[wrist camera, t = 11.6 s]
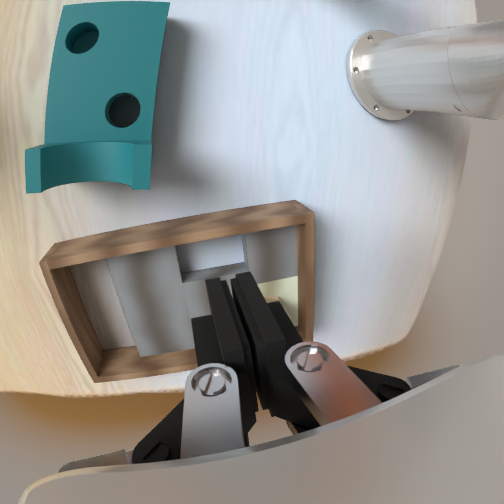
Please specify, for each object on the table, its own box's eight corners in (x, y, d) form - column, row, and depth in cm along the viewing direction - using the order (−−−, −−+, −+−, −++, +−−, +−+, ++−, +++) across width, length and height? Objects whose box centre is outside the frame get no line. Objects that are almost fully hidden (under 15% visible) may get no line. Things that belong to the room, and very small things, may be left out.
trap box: (295, 199, 38) (314, 212, 33) (298, 319, 45) (312, 342, 40) (54, 243, 32) (39, 262, 27) (99, 356, 40) (94, 382, 35)
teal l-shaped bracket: (148, 169, 33) (149, 189, 24) (57, 172, 29) (26, 193, 20) (166, 17, 26) (176, -19, 17) (73, 19, 22) (50, -14, 13)
